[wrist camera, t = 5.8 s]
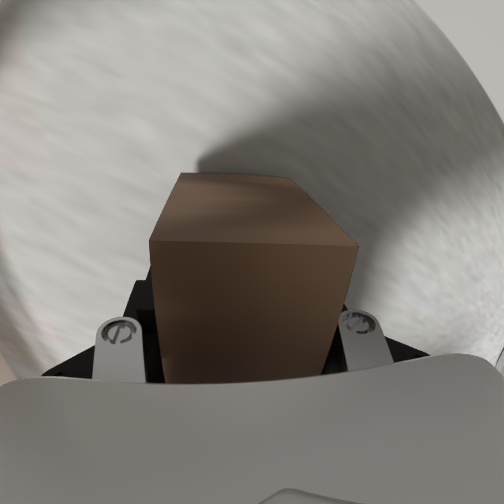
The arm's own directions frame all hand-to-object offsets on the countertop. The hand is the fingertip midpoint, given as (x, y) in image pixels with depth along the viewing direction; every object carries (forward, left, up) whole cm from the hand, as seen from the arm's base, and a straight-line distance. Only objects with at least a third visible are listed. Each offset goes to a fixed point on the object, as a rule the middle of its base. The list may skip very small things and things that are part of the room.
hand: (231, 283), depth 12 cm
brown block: (0, +5, -1) cm, 5 cm away
